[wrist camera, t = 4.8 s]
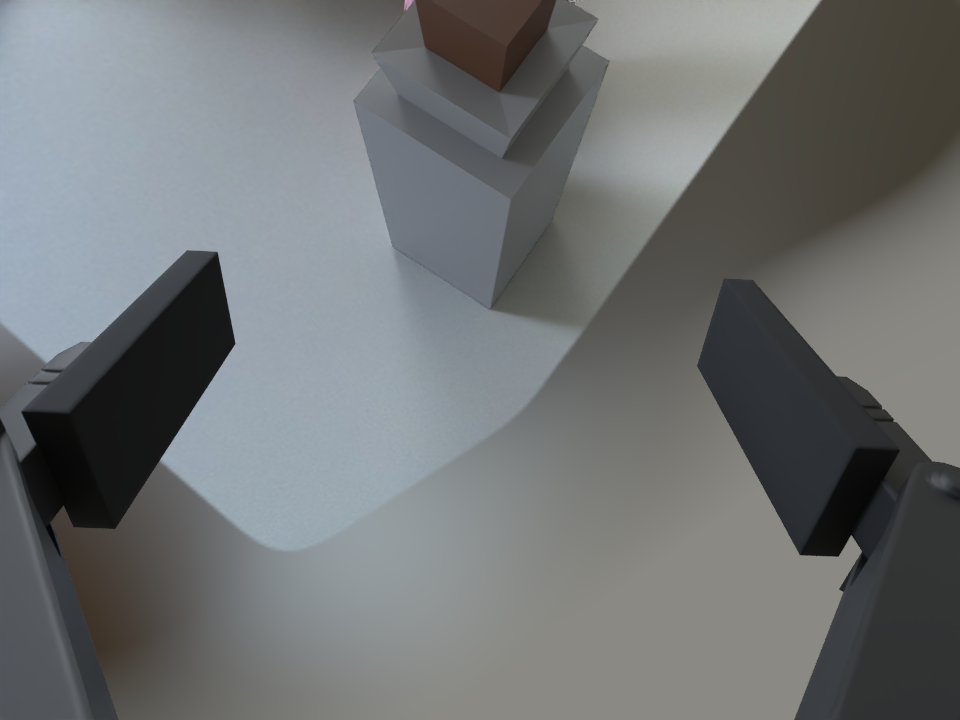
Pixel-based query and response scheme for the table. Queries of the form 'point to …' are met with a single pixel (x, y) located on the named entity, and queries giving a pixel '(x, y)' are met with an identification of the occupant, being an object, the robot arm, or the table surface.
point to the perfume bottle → (477, 130)
